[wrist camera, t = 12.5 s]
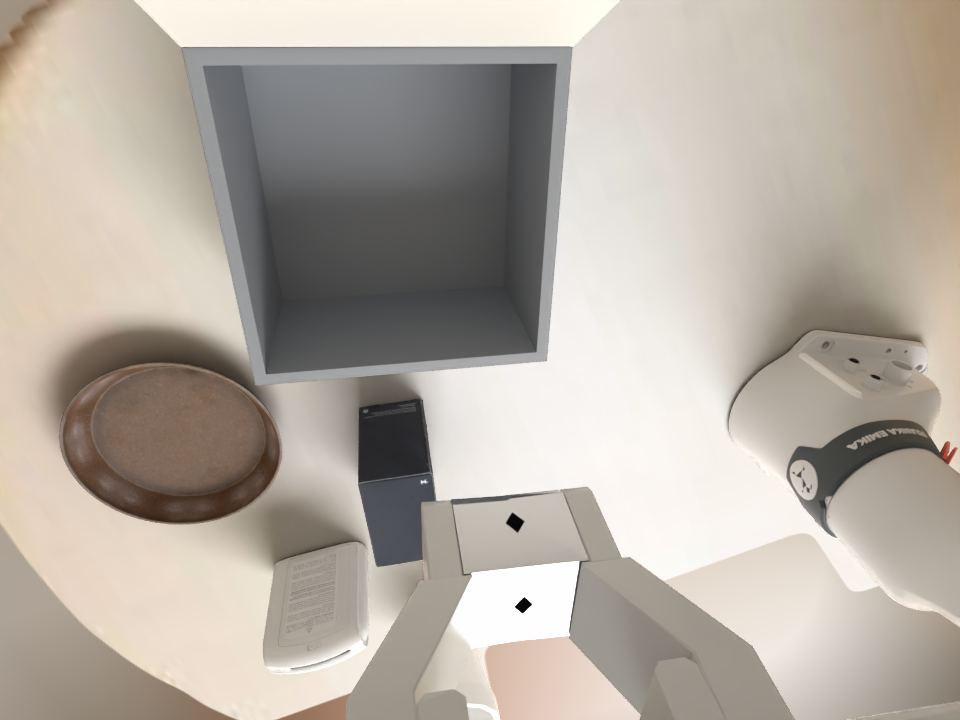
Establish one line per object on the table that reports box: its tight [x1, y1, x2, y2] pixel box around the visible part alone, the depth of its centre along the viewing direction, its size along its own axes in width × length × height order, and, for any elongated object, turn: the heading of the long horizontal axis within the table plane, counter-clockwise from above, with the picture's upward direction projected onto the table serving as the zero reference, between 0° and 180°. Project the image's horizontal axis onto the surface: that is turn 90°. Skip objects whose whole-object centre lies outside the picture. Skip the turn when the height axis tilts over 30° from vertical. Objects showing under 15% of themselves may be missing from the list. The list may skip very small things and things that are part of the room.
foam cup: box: [456, 647, 500, 720], centre depth 70 cm, size 10×9×13 cm
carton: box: [182, 46, 572, 386], centre depth 42 cm, size 20×20×12 cm
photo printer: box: [263, 542, 369, 674], centre depth 61 cm, size 10×4×12 cm, turn 101°
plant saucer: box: [59, 362, 282, 524], centre depth 54 cm, size 18×18×3 cm
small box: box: [358, 399, 436, 567], centre depth 56 cm, size 11×6×10 cm, turn 3°
